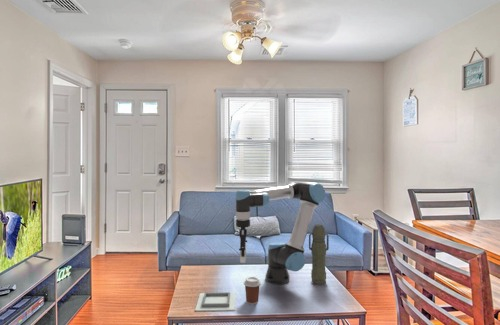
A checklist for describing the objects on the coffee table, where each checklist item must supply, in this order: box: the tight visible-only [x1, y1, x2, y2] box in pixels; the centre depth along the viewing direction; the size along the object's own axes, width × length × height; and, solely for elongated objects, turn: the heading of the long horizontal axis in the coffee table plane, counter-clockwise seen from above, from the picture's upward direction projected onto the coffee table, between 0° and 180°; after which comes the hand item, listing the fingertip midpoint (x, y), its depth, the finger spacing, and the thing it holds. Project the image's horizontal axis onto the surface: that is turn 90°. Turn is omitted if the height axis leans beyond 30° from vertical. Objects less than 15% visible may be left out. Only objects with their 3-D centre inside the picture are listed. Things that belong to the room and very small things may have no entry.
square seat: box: [194, 291, 237, 312], centre depth 168 cm, size 20×20×2 cm
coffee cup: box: [243, 276, 262, 305], centre depth 168 cm, size 9×9×12 cm
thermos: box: [308, 224, 330, 286], centre depth 195 cm, size 9×12×35 cm
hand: (243, 258), depth 171 cm, fingers open, 13 cm apart
